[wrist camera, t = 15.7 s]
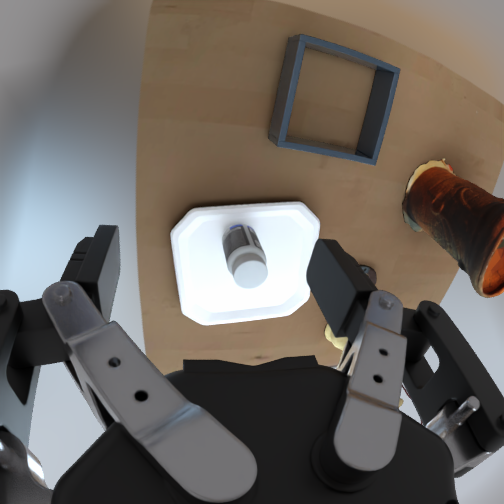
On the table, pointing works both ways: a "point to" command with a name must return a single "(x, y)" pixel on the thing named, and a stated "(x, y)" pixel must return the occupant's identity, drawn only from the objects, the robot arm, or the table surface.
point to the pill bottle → (244, 256)
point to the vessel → (459, 222)
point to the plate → (215, 267)
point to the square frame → (374, 115)
